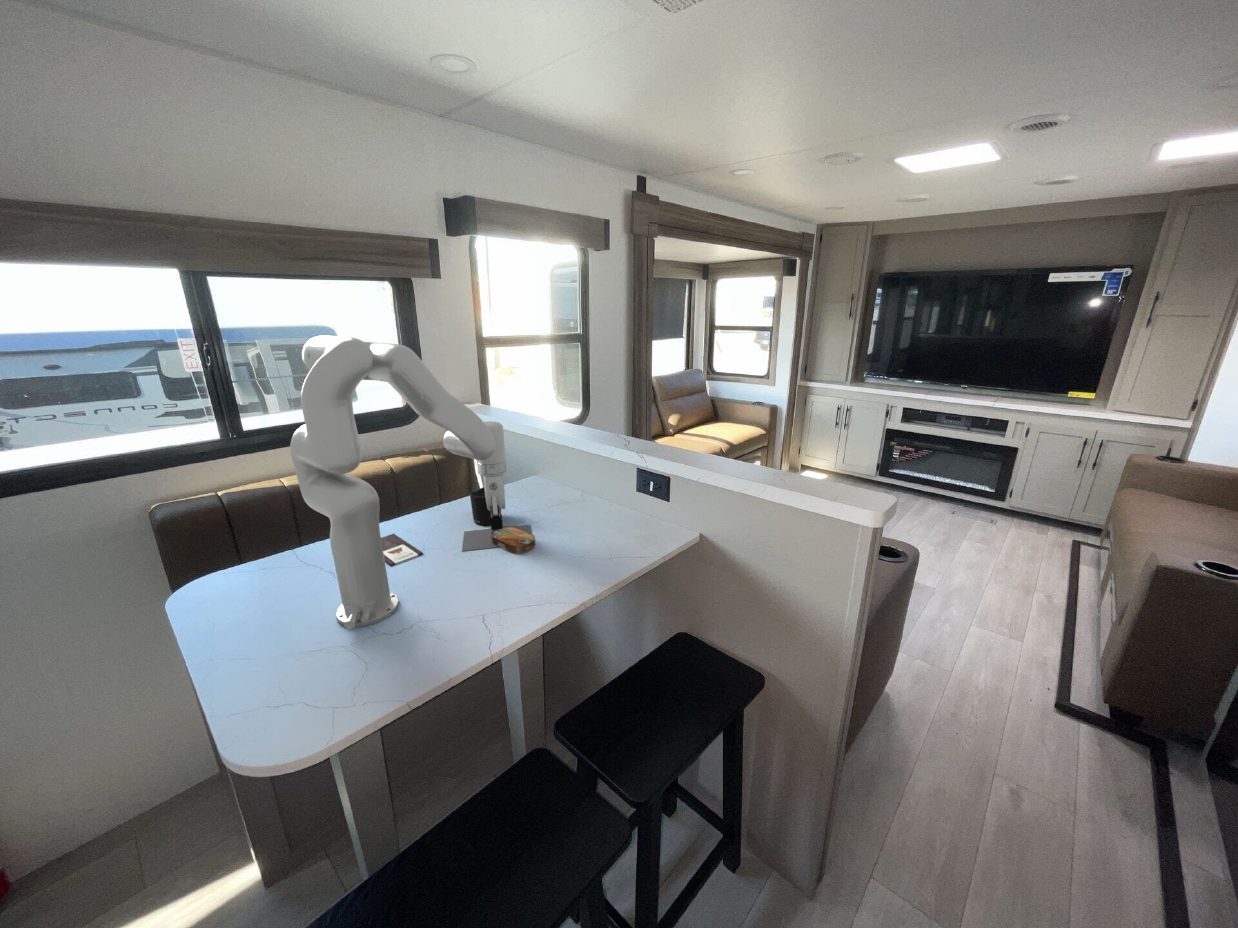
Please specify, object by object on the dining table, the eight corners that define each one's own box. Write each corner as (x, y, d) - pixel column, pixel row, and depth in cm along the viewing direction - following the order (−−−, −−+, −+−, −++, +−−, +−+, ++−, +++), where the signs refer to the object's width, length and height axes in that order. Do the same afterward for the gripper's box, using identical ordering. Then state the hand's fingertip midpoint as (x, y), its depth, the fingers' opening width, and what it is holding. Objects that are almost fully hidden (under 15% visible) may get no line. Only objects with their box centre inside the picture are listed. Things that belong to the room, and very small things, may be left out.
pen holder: (472, 516, 158) (469, 488, 155) (501, 513, 161) (499, 485, 158) (473, 528, 150) (470, 498, 147) (503, 524, 153) (501, 495, 150)
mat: (533, 543, 140) (533, 542, 140) (462, 551, 135) (461, 550, 135) (530, 525, 152) (530, 524, 152) (464, 532, 147) (464, 531, 147)
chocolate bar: (393, 533, 145) (422, 552, 134) (394, 536, 145) (423, 555, 134) (362, 543, 139) (390, 564, 127) (363, 546, 139) (390, 567, 128)
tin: (484, 532, 140) (507, 521, 146) (485, 542, 141) (508, 530, 147) (517, 548, 131) (540, 535, 137) (519, 558, 132) (542, 545, 138)
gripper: (507, 474, 125) (511, 538, 131) (505, 458, 139) (509, 516, 145) (477, 476, 124) (483, 541, 129) (478, 460, 137) (483, 519, 143)
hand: (497, 528), depth 137 cm, fingers closed
